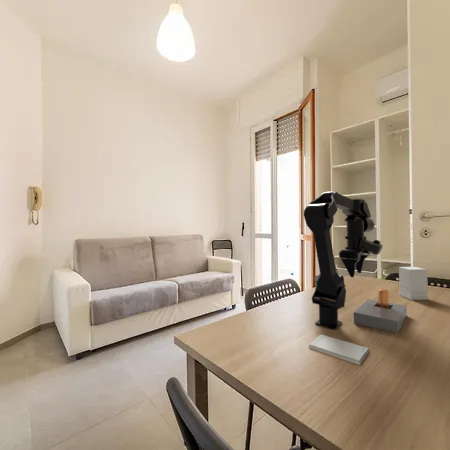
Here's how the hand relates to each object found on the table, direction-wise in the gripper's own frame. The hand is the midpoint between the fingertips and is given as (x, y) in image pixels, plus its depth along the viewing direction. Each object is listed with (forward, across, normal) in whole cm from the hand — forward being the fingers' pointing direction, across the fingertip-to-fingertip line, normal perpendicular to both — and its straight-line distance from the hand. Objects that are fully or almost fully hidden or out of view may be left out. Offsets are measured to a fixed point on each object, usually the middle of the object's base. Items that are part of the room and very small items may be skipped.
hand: (356, 275), depth 96 cm
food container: (+13, +10, +15) cm, 22 cm away
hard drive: (+14, -35, -5) cm, 38 cm away
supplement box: (+13, +31, -14) cm, 36 cm away
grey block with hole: (+13, -5, -9) cm, 17 cm away
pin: (+13, -1, -9) cm, 16 cm away
